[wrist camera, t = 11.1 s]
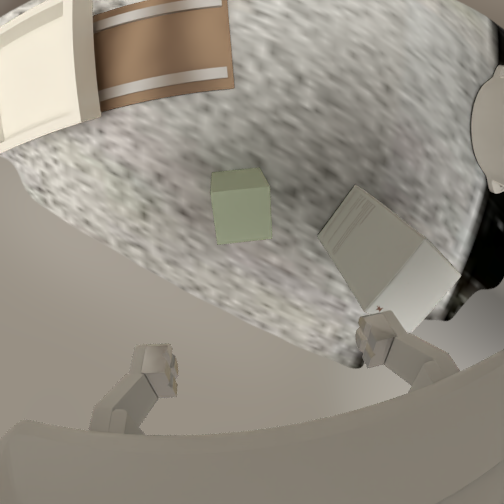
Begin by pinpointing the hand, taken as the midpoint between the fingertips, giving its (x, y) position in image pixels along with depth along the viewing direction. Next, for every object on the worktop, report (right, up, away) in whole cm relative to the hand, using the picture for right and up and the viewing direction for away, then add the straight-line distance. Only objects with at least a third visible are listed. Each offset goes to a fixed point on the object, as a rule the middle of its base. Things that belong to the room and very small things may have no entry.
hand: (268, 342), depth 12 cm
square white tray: (-19, +20, +6) cm, 28 cm away
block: (-2, +10, +16) cm, 19 cm away
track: (-13, +21, +8) cm, 26 cm away
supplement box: (+11, +7, +20) cm, 24 cm away
